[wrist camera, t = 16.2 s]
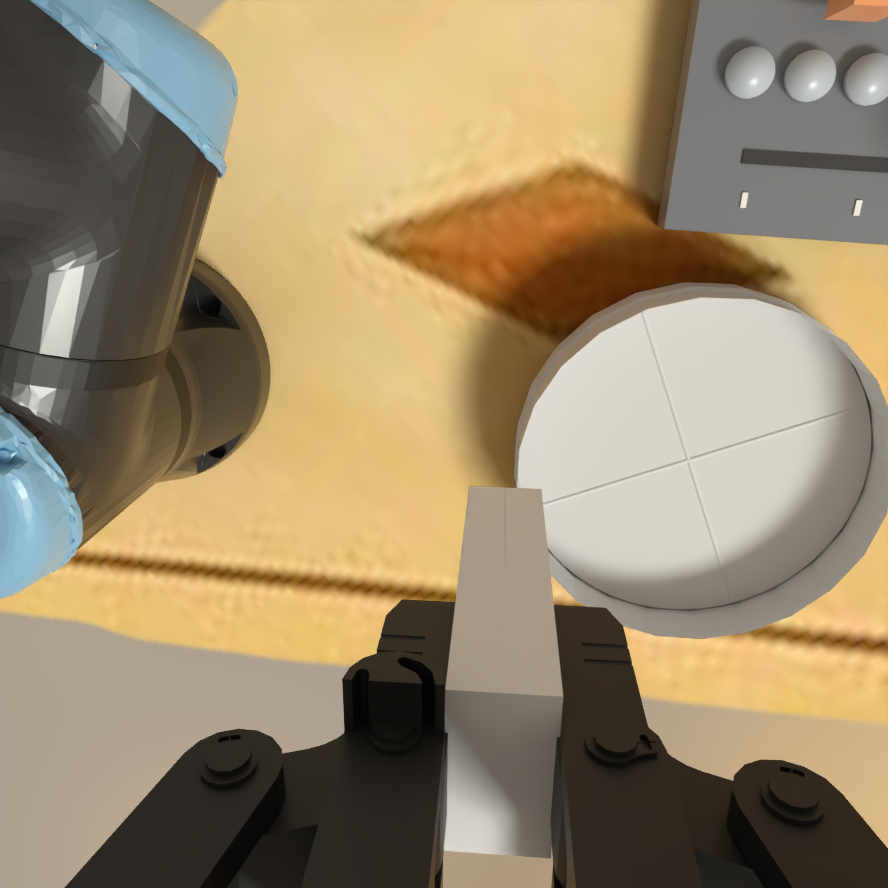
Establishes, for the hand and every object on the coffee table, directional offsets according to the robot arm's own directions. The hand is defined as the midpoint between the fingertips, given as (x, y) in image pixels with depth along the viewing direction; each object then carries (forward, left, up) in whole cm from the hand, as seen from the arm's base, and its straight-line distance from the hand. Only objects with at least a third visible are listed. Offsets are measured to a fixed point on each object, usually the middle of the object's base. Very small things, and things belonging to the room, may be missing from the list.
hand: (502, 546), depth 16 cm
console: (+18, +13, -33) cm, 40 cm away
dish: (+12, -9, -34) cm, 37 cm away
